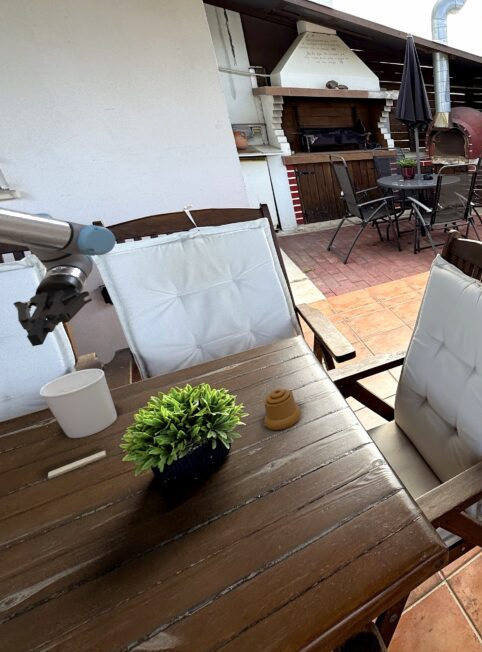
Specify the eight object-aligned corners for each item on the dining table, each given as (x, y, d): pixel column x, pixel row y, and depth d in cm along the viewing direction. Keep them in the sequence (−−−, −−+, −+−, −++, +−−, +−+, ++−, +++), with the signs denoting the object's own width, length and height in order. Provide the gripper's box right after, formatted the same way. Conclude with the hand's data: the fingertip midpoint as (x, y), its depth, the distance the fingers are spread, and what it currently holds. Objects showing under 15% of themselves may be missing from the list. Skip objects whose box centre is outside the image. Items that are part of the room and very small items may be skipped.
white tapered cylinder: (60, 427, 90) (38, 382, 86) (118, 405, 97) (100, 363, 93) (63, 448, 85) (39, 402, 80) (125, 423, 92) (106, 379, 87)
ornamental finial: (273, 437, 88) (260, 421, 92) (307, 419, 93) (294, 405, 97) (265, 407, 85) (252, 393, 89) (301, 390, 90) (287, 378, 95)
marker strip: (49, 479, 77) (47, 477, 77) (49, 474, 78) (48, 472, 78) (106, 456, 82) (105, 454, 82) (105, 452, 84) (104, 450, 83)
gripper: (17, 278, 97) (-21, 334, 80) (91, 269, 104) (69, 319, 87) (32, 304, 101) (-2, 362, 84) (102, 293, 107) (84, 345, 91)
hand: (34, 340), depth 86 cm, fingers closed
